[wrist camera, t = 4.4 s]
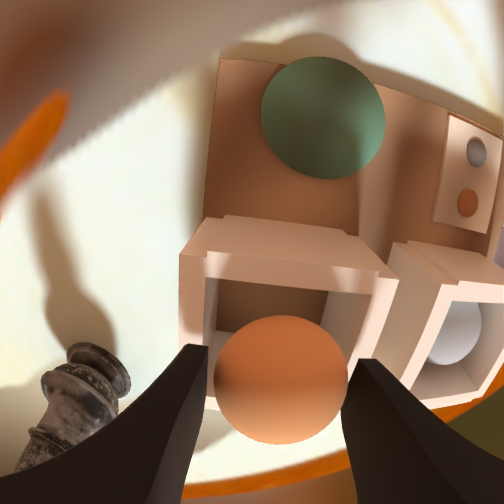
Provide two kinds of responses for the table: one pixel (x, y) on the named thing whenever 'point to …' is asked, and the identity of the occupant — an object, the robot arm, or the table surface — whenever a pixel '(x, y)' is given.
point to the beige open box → (283, 281)
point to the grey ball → (456, 333)
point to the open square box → (441, 321)
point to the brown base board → (344, 170)
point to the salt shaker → (76, 402)
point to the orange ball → (280, 379)
